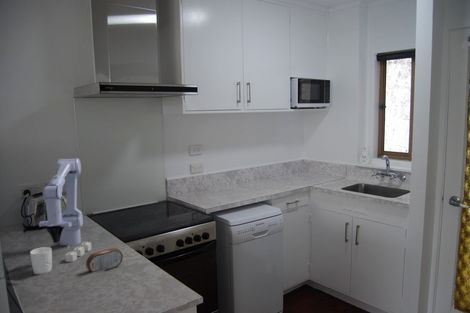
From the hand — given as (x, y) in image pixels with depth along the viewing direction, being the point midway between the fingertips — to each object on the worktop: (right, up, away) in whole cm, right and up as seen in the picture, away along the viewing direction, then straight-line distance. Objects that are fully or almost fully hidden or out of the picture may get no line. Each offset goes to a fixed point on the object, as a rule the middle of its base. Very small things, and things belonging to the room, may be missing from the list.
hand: (56, 242), depth 160 cm
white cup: (-1, -11, -10) cm, 15 cm away
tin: (+25, -10, -8) cm, 28 cm away
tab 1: (+7, -8, 0) cm, 10 cm away
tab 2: (+7, -7, +6) cm, 12 cm away
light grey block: (+8, -7, +12) cm, 16 cm away
